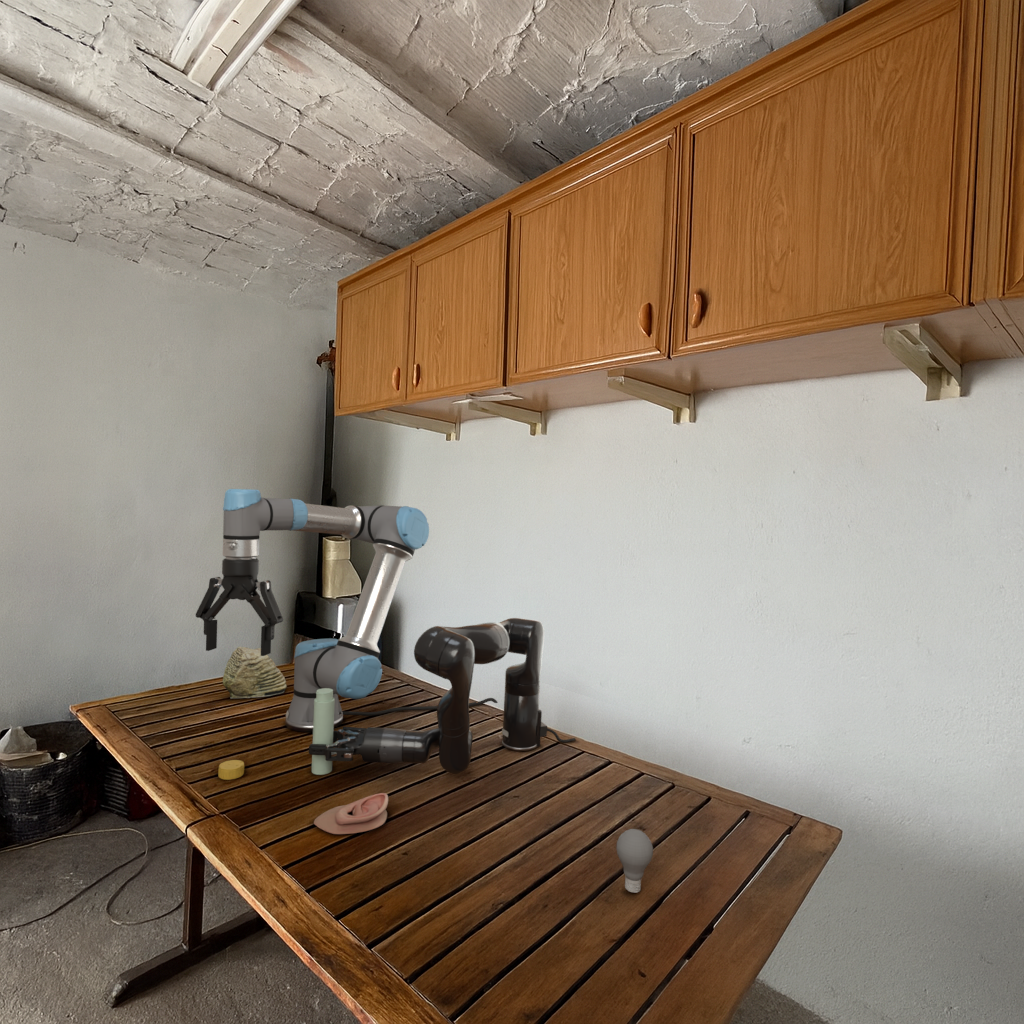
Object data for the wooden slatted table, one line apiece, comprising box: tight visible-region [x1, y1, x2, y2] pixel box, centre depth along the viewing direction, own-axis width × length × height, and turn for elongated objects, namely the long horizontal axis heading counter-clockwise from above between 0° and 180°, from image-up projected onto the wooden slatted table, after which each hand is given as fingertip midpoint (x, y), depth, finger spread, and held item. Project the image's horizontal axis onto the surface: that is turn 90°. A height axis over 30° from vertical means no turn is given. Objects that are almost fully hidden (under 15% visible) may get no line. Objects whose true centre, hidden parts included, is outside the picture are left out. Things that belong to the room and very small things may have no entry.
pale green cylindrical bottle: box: [311, 688, 335, 776], centre depth 146 cm, size 4×4×19 cm
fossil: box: [222, 646, 288, 699], centre depth 198 cm, size 9×18×15 cm, turn 132°
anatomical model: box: [313, 792, 389, 835], centre depth 124 cm, size 13×4×12 cm
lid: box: [217, 759, 245, 781], centre depth 142 cm, size 5×5×2 cm
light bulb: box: [615, 828, 654, 894], centre depth 106 cm, size 6×6×10 cm
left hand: (238, 652), depth 142 cm, fingers open, 13 cm apart
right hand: (315, 741), depth 146 cm, fingers open, 8 cm apart
